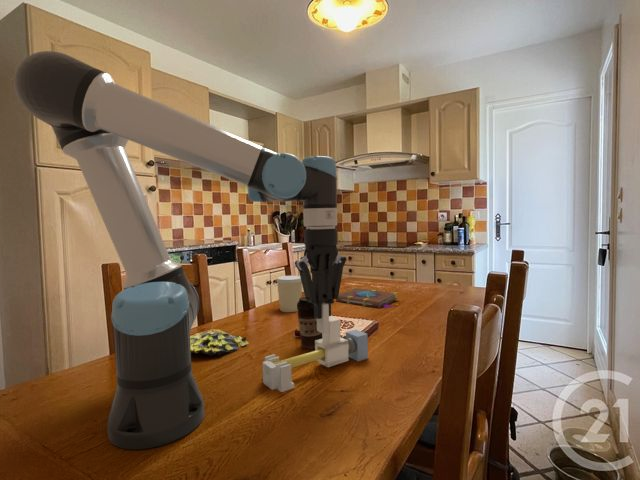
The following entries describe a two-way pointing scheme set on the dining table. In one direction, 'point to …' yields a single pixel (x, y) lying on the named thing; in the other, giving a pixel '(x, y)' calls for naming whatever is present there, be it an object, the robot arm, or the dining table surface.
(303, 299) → the coffee cup
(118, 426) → the robot arm
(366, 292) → the book
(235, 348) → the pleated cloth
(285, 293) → the coffee cup
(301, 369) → the dining table surface
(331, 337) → the sliding rod carriage
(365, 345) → the slide rail
